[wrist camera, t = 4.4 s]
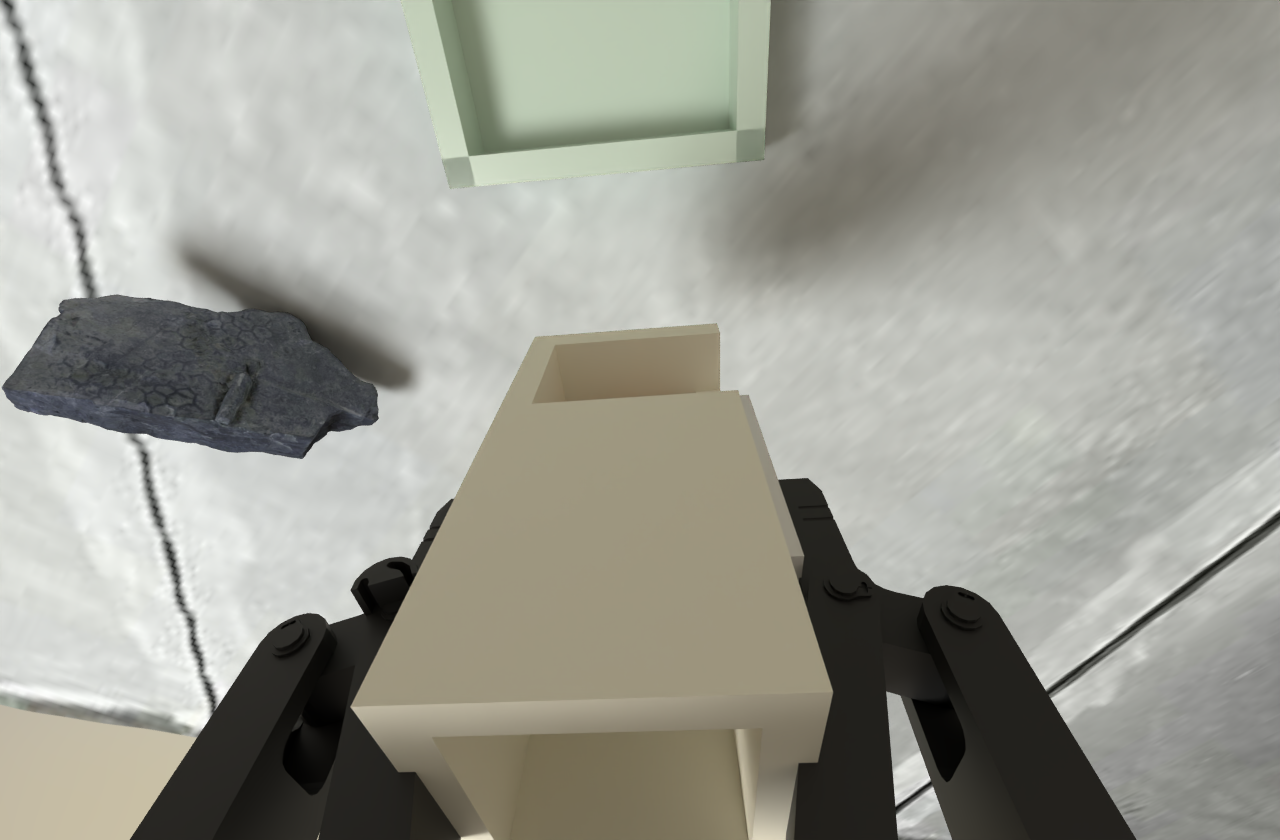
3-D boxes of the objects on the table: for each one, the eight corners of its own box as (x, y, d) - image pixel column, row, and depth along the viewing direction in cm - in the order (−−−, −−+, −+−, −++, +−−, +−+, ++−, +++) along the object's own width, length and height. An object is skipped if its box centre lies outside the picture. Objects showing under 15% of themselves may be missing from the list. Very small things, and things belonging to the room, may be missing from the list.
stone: (400, 327, 30) (299, 414, 21) (400, 411, 33) (311, 516, 24) (148, 267, 28) (-72, 334, 19) (173, 361, 31) (-6, 454, 23)
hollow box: (535, 337, 16) (350, 706, 6) (716, 323, 16) (833, 692, 6) (565, 478, 20) (474, 875, 9) (717, 469, 19) (792, 872, 9)
